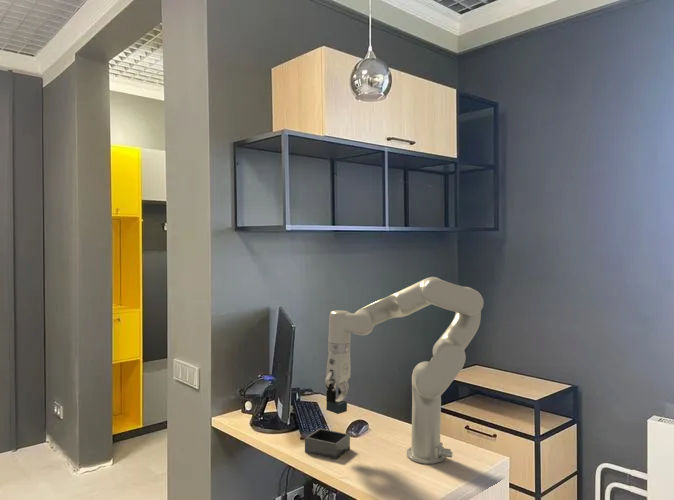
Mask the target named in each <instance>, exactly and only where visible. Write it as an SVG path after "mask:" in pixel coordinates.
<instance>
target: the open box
mask: <svg viewBox="0 0 674 500" xmlns="http://www.w3.org/2000/svg"><path fill="white" fill-rule="evenodd" d="M350 449H351V434H348V433H345V432H340V431H334V430H330V429H325V428H320V427H319V428H318V429H316V430H315V431H313V432H311V433H309V434H308V435H307V436H306V437H304V453H307V454H311V455H315V456H319V457H324V458H328V459H333V460H338V459H339V458H340V457H341V456H343V455H345V453H346V452H347V451H349V450H350Z"/></svg>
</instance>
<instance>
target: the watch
mask: <svg viewBox="0 0 674 500" xmlns="http://www.w3.org/2000/svg"><path fill="white" fill-rule="evenodd" d="M332 381H335V380H332ZM331 384H332V386H333V383H331ZM336 387H337V388H338V387H339V388H340V391H342V392H341V394H340V395H338V398H336V402H335V403H332V402H327V401H326V404H325V405H326V409H325V410H326V411H328V412H332V413H334V414H337V415H339V414H343V413H346V412H347V411H348V402H347V401H344V400H345V398H346V397H347V396H348V393H349V388H350V385H349V382H348V383H347V382H346V381H344V382H342V383H340V384H338V383H337V385H336ZM346 395H347V396H346Z"/></svg>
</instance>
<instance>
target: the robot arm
mask: <svg viewBox="0 0 674 500" xmlns="http://www.w3.org/2000/svg"><path fill="white" fill-rule="evenodd" d="M431 305H433V306H435V307H439V308H441V309H445V310H447V311H451V312H455V314H454V317H453V319H452V321H451V322H450V324H449V326H448V327H447V328H446V329H445V331H444V332H443V333H442V335H441V336H440V337H439V338H438V340H436V342H435V343H434V345H433V347H432V357H431V359H430V360H429V361H425V360H424V361H421V362H419V363H417V364H416V365H415V367H413V370H412V374H411V393H412V395H411V398H412V399H411V400H412V402H411V405H412V406H411V447H409V448H407V449H406V456H407V457H408V459H409V460H411V461H413V462H416V463H418V464H419V463H420V464H425V465H426V464H427V465H432V464H434V465H435V464H439V463H441V462H443V461H444V460H445V458H446V457H447V458H450V459H452V458H453V451H452V449H451V448H446V447H444V445H443V442H441V423H442V422H441V421H442V420H441V419H442V418H441V416H442V413H441V412H442V395H443V394H444V392H446V390H447V389H448V388H449V387H450V385H451V384H452V382H453V381H454V380H455V379H456V377H457V376H458V375H459V374H460V372H461V371H462V370H463V368H464V365H465V363H466V358H467V357H466V352H465V349H466V348H467V347H468V346H469V344H470V343H471V341H472V340H473V338H474V337H475V336H476V334H477V332H478V330H479V327H480V325H481V317H482V310H483V307H484V298H483V296H482V295H481V293H480V292H479V291H478V290H475V289H474V288H472V287H469V286H461V285H459V284H455V283H452V282H449V281H446V280H443V279H440V278H439V277H436V276H430V277H426V278H424V279H421V280H419V281H418V282H416V283H413V284H412V285H409V286H407V287H405V288H403V289H401V290H398V291H396V292H394V293H391V294H390V295H389V294H388V296H386V297H384V298H381V299H378V300H377V301H374V302H372V303H370V304H368V305H366V306H363V307H361V308H359V309H357V311H355V312H354V313H351V312H350V311H348V310H339V309H338V310H337V309H336V310H332V311H330V313H329V319H328V338H327V339H328V343H327V352H328V355H327V362H326V363H327V364H326V371H325V372H326V373H325V374H326V375H325V376H326V377H325V378H324V379H325V380H324V383H325V387H326V388H325V389H326V399H325V401H326V403H327V402H332V403H335V402H336V399H337V395H338V396H340V394H341V392H342V391H340V388H339V387H338V386H337V383H338V384H340V383H342V382H344V381H346V382H347V383H348V384H349V379H350V378H351V370H352V369H351V368H352V366H351V365H352V363H351V338H352V337H351V336H352V335H351V334H353V335H357V336H367V335H369V334H370V333H372V331H373V329H374V326H377V325H378V324H381V323H383V322H386V321H389V320H390V319H395V318H404V317H407V316H409V315H411V314H413V313H416V312H418V311H420V310H421V309H424V308H425V307H428V306H431ZM332 380H335V381H332ZM331 383H333V386H332V384H331ZM336 388H338V389H337V390H336ZM347 396H348V394H347V395H346V397H347Z"/></svg>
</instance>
